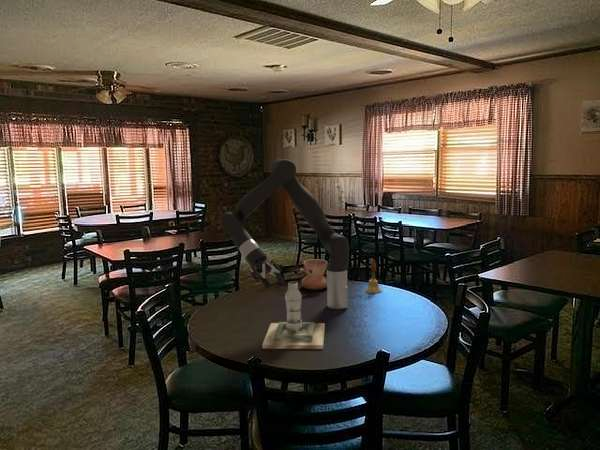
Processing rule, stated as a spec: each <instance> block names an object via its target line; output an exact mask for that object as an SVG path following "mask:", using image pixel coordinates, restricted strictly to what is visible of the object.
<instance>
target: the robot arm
mask: <svg viewBox="0 0 600 450" xmlns="http://www.w3.org/2000/svg"><path fill="white" fill-rule="evenodd" d="M269 171H270V174H269V176H268V177H266V179H265V180H263V181H262V182H261V183H259V184H258V185H256V186H255V187H254V188H252V189H251V190H250V191H248V192H247V193H246V194H245V195H244V196H242V198H241V199H240V200H239V201H238V202H237V203H236V205H235V209H234V210H233V211H232V212H231V211H225V212H223V213H222V214H221V215H220V216H219V219H218V220H219V225H220V226H221V228H222V229H223V230H224V232H225V233H227V235H228V236H229V237H230V239H231V240H232V242H233V243H234V245H235V246H236V248H237V250H239V251H240V254H241V256H242V257H243V258H244V260H245V261H246V262H247V263H248V265H249V267H250V268H248V272H249V274H250V275H251V276H252V278H253V279H254V280H255V282H257V283H258V282H260V283H262V285H263V286H264V287H265V288H266V289H267V290H269V289H270V288H271V287H272V284H271V283H270V281H269V280H268V278H266V275H268V274H269V275H272V276H274V277H275V278H276V280H277V281H278V282H279V284H283V283H284V282H285V278H284V276H282V274H281V272H282V270H283V269H282V268H281V267H280V266H279V264H278V263H277V262H276V261H275V259H273V258H272V259H271V260H268V259H267V255H266V253H265V252H264V250H262V248H261V247H260V245H259V244H258V243H257V241H255V240H254V239H253V237H252V236H251V234H249V232H248V231H247V230H246V229H245V227H244V223H245V221H246V220H247V219H248V217H249V216H250V215H251V214H252V213H253V212H254V211H256V209H258V207H260V205H261V204H262V203H264V201H266V199H268V197H270V196H271V195H272V194H273V193H274V192H275V191H277V190H278V189H280V188H282V189H283V191H285V193H286V194H287V195H288V197H289V199H290V201H291V202H292V203H293V204H294V207H295V208H296V210H298V213H299V214H300V215H301V217H302V218H303V219H304V220H305V222H306V223H307V224H308V225H309V227H310V228H311V229H312V231H314V234H316V236H317V237H318V239H319V241H320V243H321V245H322V247H323V248H324V250H325V251H326V252H328V253H329V256H330V257H329V262H327V269H326V278H327V287H326V296H327V297H326V299H327V301H326V303H327V307H328V308H329V309H334V310H342V309H348V308H349V307H348V305H349V304H348V300H349V299H348V295H349V294H348V266H349V263H350V262H349V261H350V244H349V240H348V238H346V237H345V236H343V235H341V234H338V233H337V232H336V231H335V230H334V229H333V227H331V226H330V224H329V223H328V222H329V221H327V217H326V215H325V211H324V209H323V207H322V205H321V204H320V202H319V201H318V200H317V198H316V197H315V196H314V195H313V194H312V192H310V191H309V189H307V188H306V187H305V186H304V185H303V184H301V182H299V180H298V178H297V176H296V174H297V167H296V164H295V163H294V162H293V161H292V160H290V159H286V158H278V159H275V160H273V161H272V163H271V164H270V167H269Z"/></svg>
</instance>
